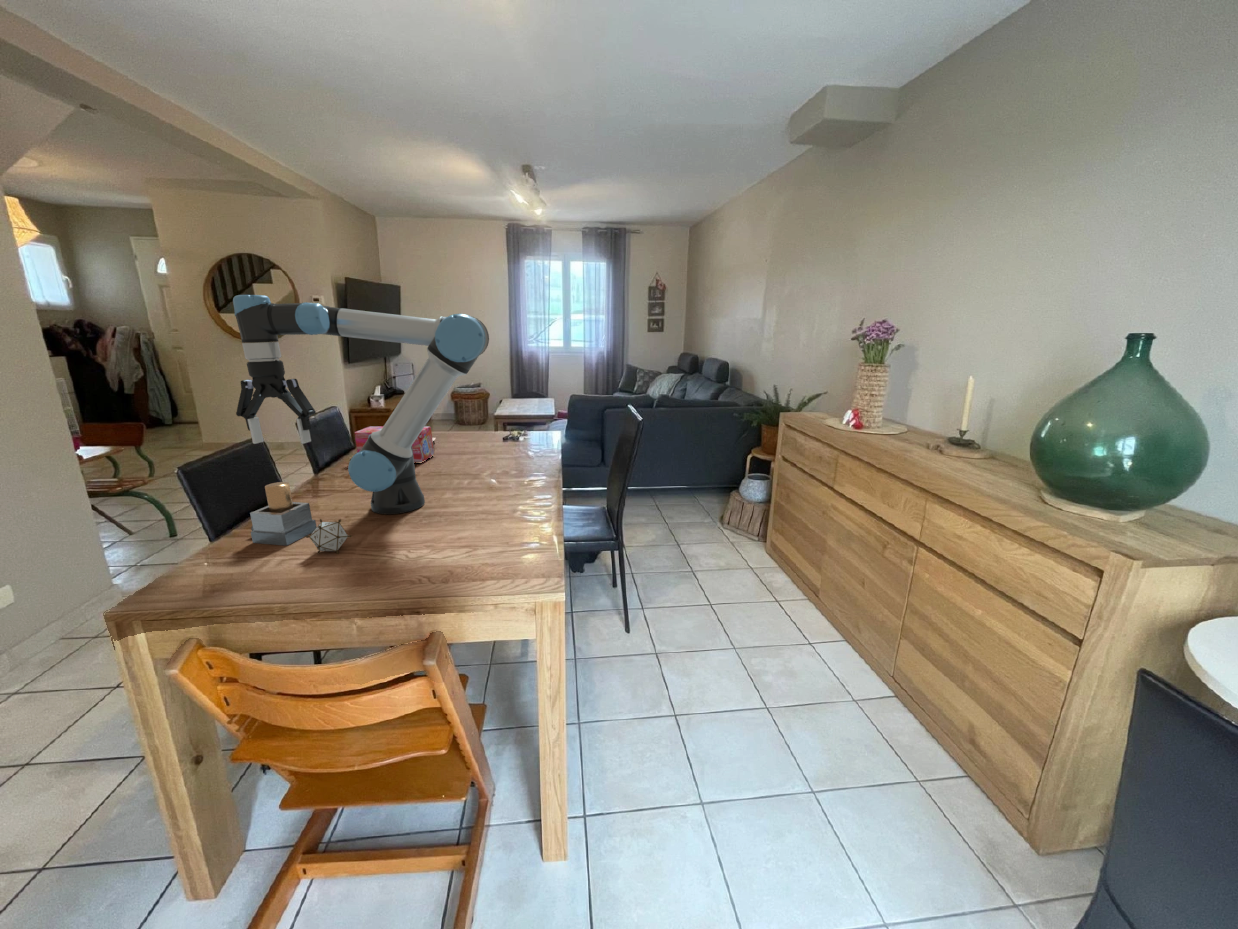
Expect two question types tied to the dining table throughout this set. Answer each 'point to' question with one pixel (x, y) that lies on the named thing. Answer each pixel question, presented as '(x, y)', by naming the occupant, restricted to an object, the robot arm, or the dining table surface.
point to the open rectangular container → (282, 525)
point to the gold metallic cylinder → (279, 497)
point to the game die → (329, 536)
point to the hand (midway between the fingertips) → (282, 442)
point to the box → (420, 446)
